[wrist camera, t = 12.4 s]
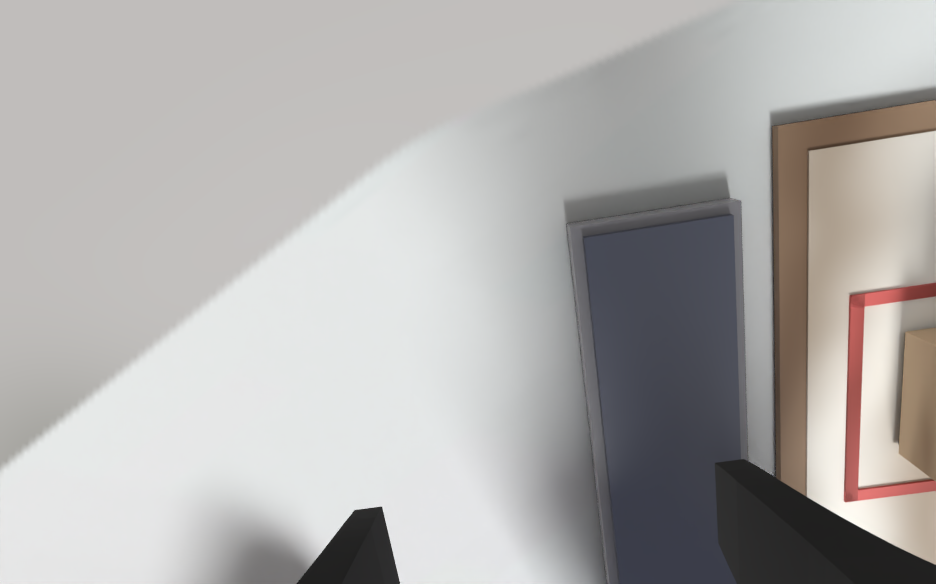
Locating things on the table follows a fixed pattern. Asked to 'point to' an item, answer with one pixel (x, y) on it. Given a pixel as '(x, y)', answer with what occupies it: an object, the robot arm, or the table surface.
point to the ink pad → (662, 382)
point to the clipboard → (854, 311)
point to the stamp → (919, 401)
